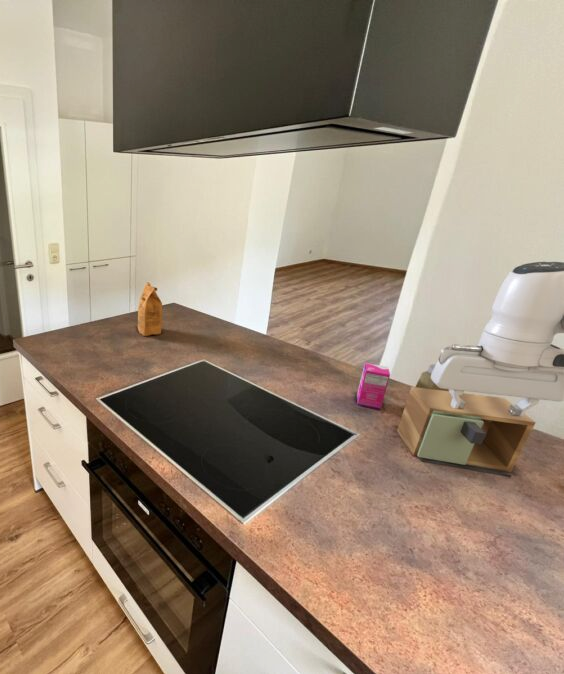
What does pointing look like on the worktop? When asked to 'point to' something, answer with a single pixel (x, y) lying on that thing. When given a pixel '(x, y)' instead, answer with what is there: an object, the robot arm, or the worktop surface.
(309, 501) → the worktop surface
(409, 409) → the cabinet
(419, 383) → the squeeze bottle
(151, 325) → the coffee package
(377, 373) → the supplement box
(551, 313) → the robot arm
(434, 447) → the sliding door
